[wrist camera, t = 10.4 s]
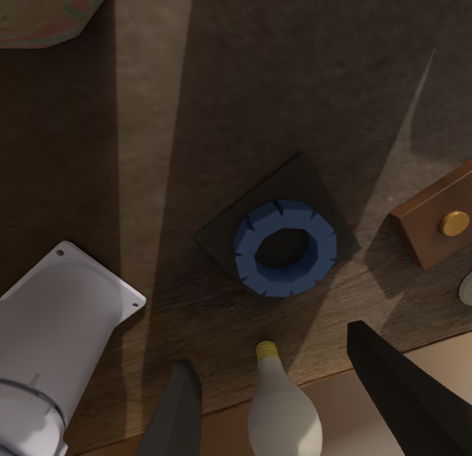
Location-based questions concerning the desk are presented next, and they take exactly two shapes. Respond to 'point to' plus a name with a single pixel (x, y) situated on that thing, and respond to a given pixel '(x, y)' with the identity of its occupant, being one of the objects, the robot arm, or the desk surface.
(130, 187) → the desk surface
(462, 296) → the figurine
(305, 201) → the mat
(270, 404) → the light bulb
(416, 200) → the platform
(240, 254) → the ring
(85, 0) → the potted plant
